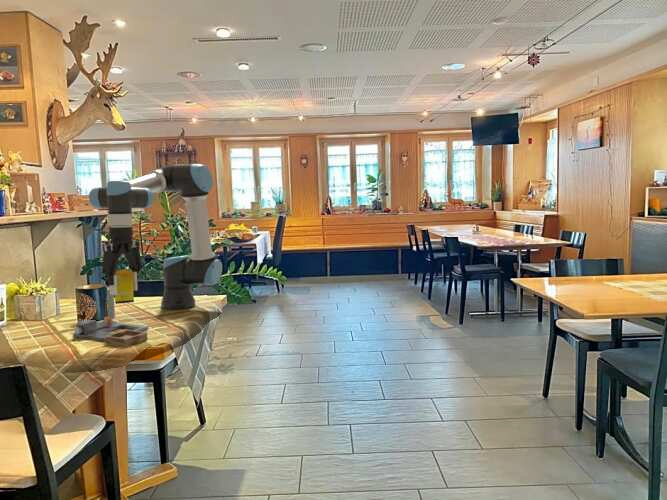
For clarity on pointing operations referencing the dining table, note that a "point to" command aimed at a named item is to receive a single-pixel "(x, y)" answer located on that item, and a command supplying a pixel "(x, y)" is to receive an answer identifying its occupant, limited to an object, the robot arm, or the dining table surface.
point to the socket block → (103, 329)
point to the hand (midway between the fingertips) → (124, 292)
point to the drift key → (102, 323)
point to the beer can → (110, 304)
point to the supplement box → (124, 286)
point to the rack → (126, 338)
